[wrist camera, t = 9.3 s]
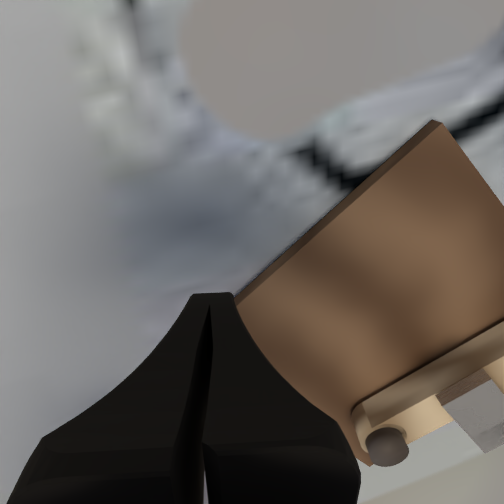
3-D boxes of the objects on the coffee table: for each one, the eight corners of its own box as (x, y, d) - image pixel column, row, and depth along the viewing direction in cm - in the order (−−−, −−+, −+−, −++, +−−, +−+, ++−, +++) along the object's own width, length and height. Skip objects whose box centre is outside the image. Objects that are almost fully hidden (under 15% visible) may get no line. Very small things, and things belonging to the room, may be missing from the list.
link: (365, 434, 27) (381, 475, 24) (343, 412, 26) (356, 454, 23) (565, 325, 23) (608, 360, 21) (549, 295, 22) (593, 327, 19)
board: (365, 454, 30) (369, 466, 29) (191, 336, 24) (189, 347, 23) (580, 318, 25) (593, 328, 24) (431, 119, 18) (442, 123, 17)
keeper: (454, 405, 27) (484, 453, 23) (413, 360, 24) (441, 406, 21) (493, 383, 26) (531, 430, 23) (455, 335, 24) (491, 378, 20)
